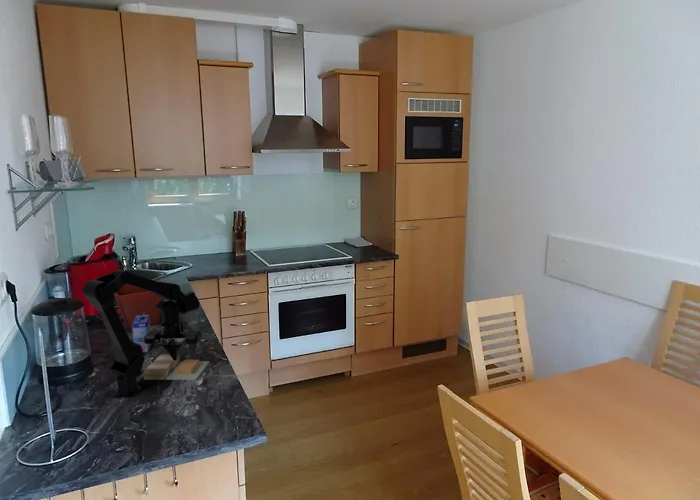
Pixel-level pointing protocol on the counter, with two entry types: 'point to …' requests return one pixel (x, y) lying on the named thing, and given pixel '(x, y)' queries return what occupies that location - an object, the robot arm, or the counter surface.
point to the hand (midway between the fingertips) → (175, 359)
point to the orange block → (187, 367)
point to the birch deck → (161, 367)
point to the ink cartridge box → (141, 330)
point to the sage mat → (194, 375)
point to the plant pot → (137, 304)
